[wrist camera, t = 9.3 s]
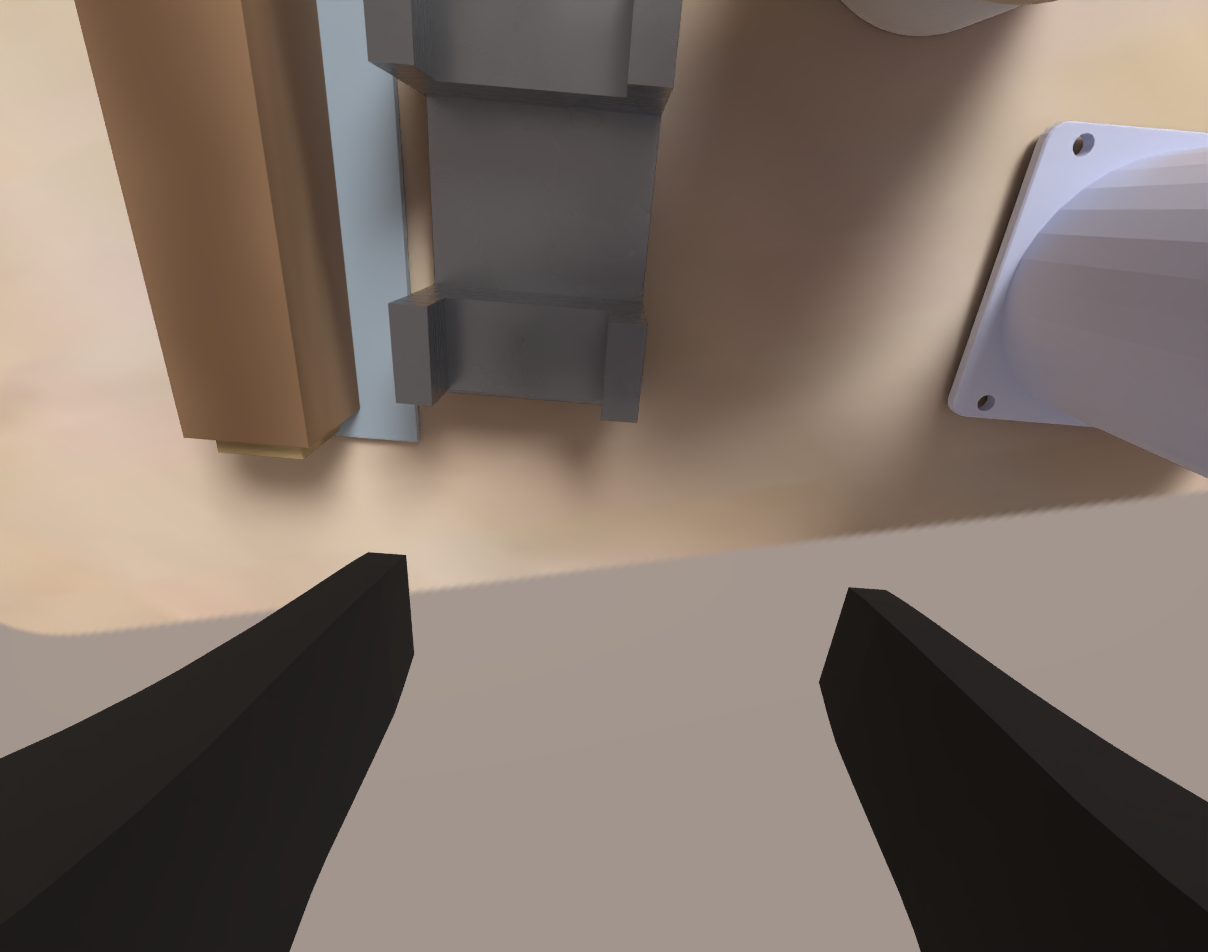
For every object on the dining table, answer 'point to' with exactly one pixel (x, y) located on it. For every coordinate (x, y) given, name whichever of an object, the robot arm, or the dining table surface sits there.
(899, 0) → the coffee cup
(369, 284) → the mat
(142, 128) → the rail
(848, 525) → the dining table surface
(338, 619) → the robot arm
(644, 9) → the stand
